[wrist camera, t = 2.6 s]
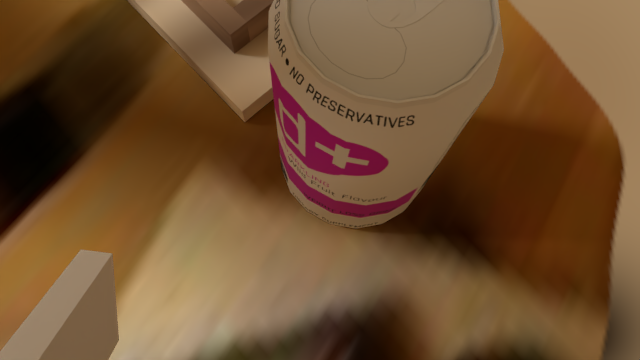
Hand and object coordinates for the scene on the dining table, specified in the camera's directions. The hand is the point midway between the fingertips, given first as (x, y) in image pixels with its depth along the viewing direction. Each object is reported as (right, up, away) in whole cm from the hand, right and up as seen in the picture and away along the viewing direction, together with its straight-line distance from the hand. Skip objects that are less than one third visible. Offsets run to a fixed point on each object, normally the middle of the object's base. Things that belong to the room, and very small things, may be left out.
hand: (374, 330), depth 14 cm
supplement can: (+1, +5, +19) cm, 19 cm away
